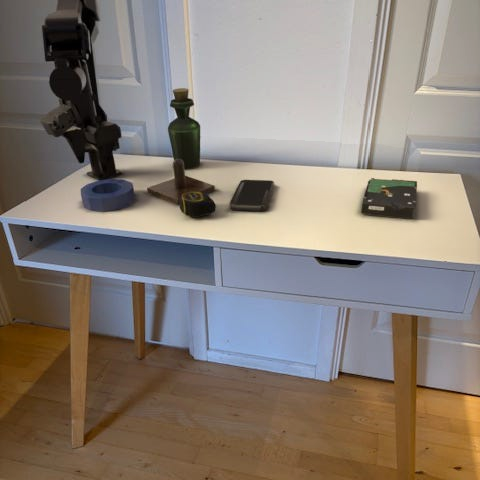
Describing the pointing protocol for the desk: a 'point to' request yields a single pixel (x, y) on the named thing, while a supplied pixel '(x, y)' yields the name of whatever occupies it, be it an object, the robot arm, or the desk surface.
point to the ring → (108, 195)
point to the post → (179, 185)
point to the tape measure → (196, 204)
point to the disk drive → (390, 198)
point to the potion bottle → (184, 131)
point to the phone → (252, 195)
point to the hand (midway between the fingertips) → (92, 167)
